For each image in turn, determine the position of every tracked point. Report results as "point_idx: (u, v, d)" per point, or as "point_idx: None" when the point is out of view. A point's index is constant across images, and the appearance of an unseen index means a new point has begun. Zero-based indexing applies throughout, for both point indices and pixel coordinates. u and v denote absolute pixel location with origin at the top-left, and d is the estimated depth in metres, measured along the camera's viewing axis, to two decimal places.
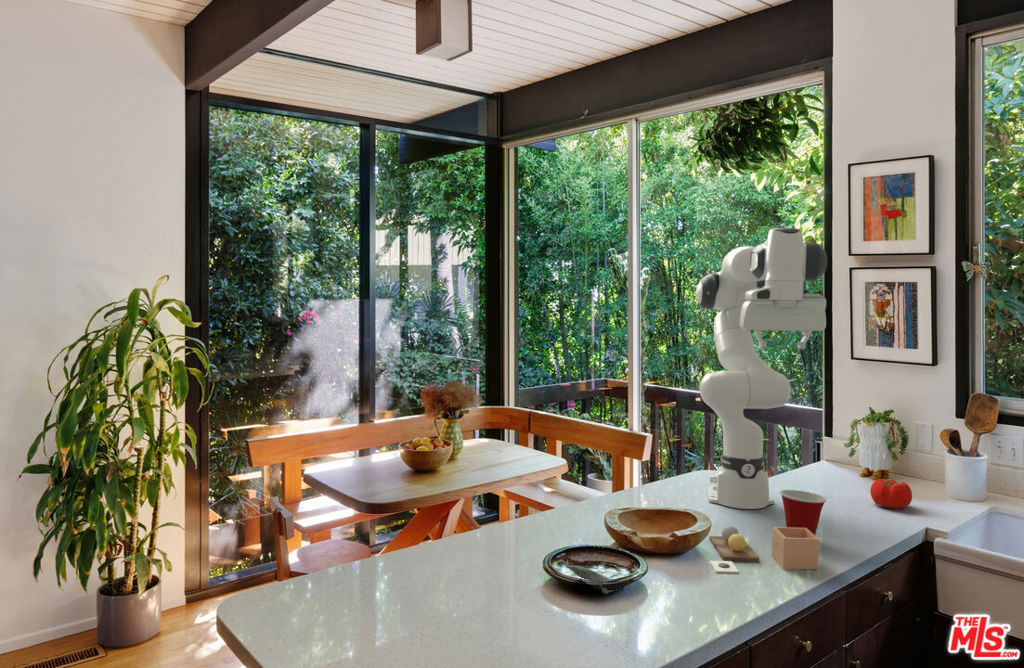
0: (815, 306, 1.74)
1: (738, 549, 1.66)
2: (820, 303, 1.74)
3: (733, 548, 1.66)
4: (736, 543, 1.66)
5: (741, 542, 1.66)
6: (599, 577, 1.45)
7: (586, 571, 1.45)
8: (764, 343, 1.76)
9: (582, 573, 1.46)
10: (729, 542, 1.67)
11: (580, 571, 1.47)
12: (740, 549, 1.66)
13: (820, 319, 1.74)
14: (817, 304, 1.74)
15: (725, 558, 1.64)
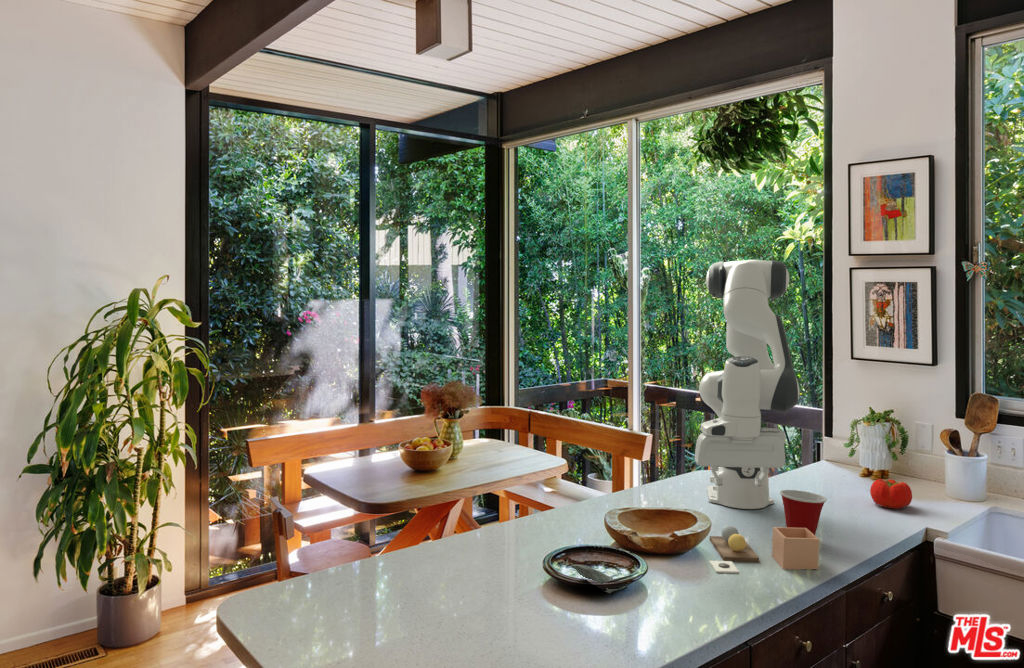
0: (774, 442, 1.64)
1: (738, 549, 1.66)
2: (779, 439, 1.64)
3: (733, 548, 1.66)
4: (736, 543, 1.66)
5: (741, 542, 1.66)
6: (602, 576, 1.45)
7: (589, 570, 1.46)
8: (720, 480, 1.66)
9: (585, 572, 1.47)
10: (729, 542, 1.67)
11: (583, 570, 1.47)
12: (740, 549, 1.66)
13: (778, 456, 1.64)
14: (776, 440, 1.64)
15: (725, 558, 1.64)
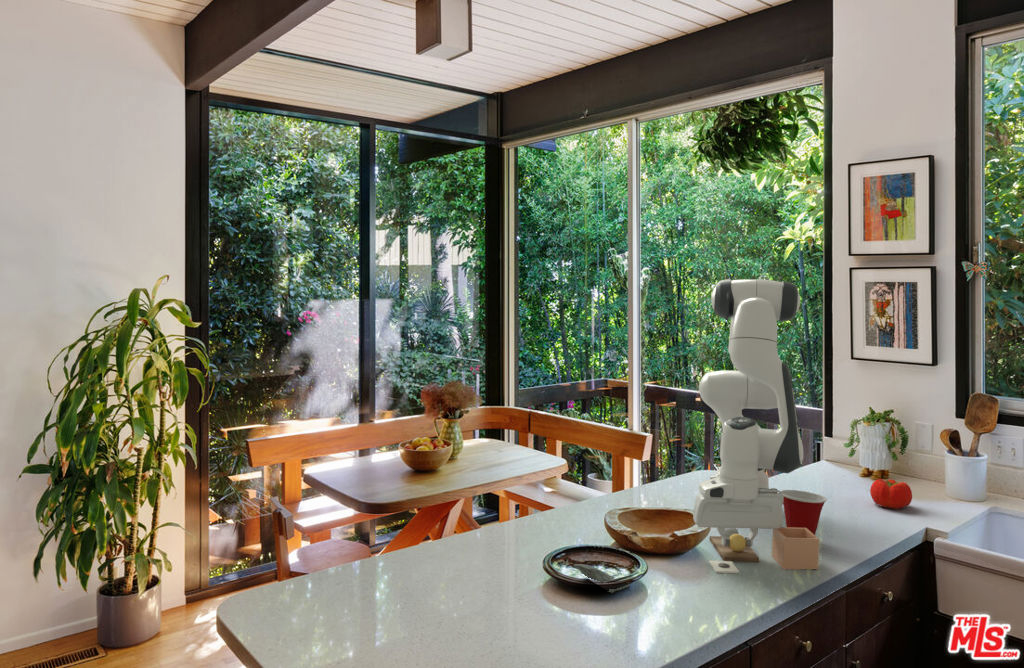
0: (772, 503, 1.65)
1: (738, 549, 1.66)
2: (777, 500, 1.65)
3: (733, 548, 1.66)
4: (736, 543, 1.66)
5: (741, 542, 1.66)
6: (604, 576, 1.46)
7: (592, 570, 1.46)
8: (727, 540, 1.67)
9: (588, 572, 1.47)
10: (729, 542, 1.67)
11: (586, 570, 1.48)
12: (740, 549, 1.66)
13: (776, 517, 1.65)
14: (774, 501, 1.65)
15: (725, 558, 1.64)
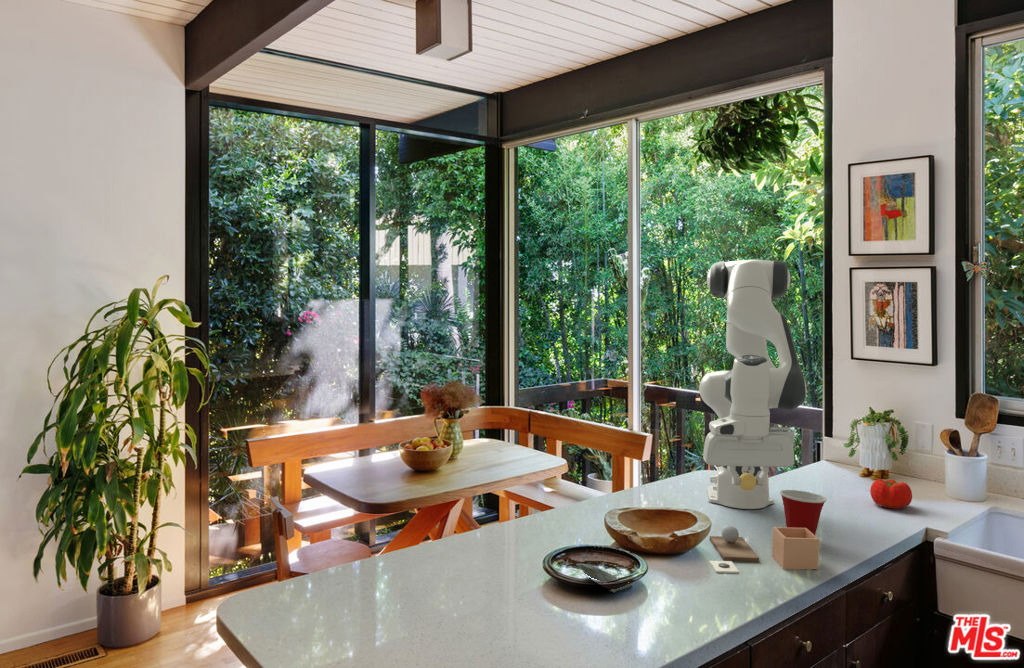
0: (783, 441, 1.63)
1: (748, 488, 1.64)
2: (788, 438, 1.63)
3: (743, 487, 1.65)
4: (746, 482, 1.64)
5: (751, 481, 1.64)
6: (607, 576, 1.46)
7: (594, 569, 1.46)
8: (737, 479, 1.65)
9: (590, 571, 1.47)
10: (739, 481, 1.65)
11: (588, 569, 1.48)
12: (750, 488, 1.64)
13: (787, 455, 1.63)
14: (785, 439, 1.63)
15: (725, 558, 1.64)
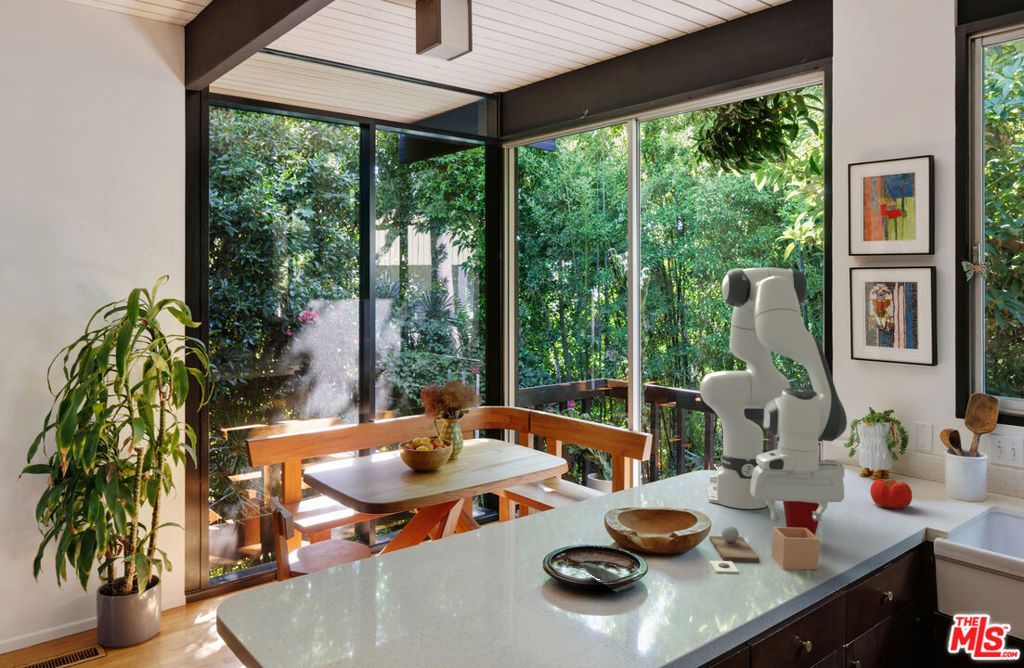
0: (833, 476, 1.60)
1: None
2: (838, 473, 1.60)
3: None
4: None
5: None
6: (609, 575, 1.46)
7: (596, 569, 1.47)
8: (777, 514, 1.62)
9: (593, 571, 1.48)
10: None
11: (591, 569, 1.48)
12: None
13: (837, 490, 1.60)
14: (835, 473, 1.60)
15: (725, 558, 1.64)
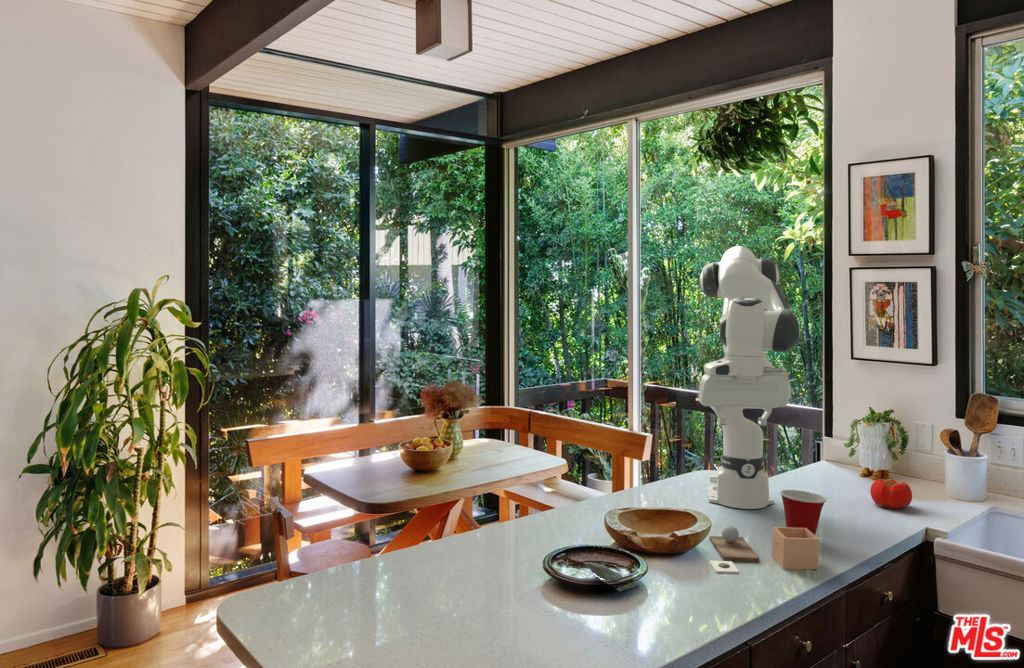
0: (777, 381, 1.65)
1: None
2: (782, 378, 1.65)
3: None
4: None
5: None
6: (613, 574, 1.47)
7: (600, 568, 1.47)
8: (723, 419, 1.67)
9: (596, 570, 1.48)
10: None
11: (595, 568, 1.49)
12: None
13: (781, 395, 1.65)
14: (779, 379, 1.65)
15: (725, 558, 1.64)
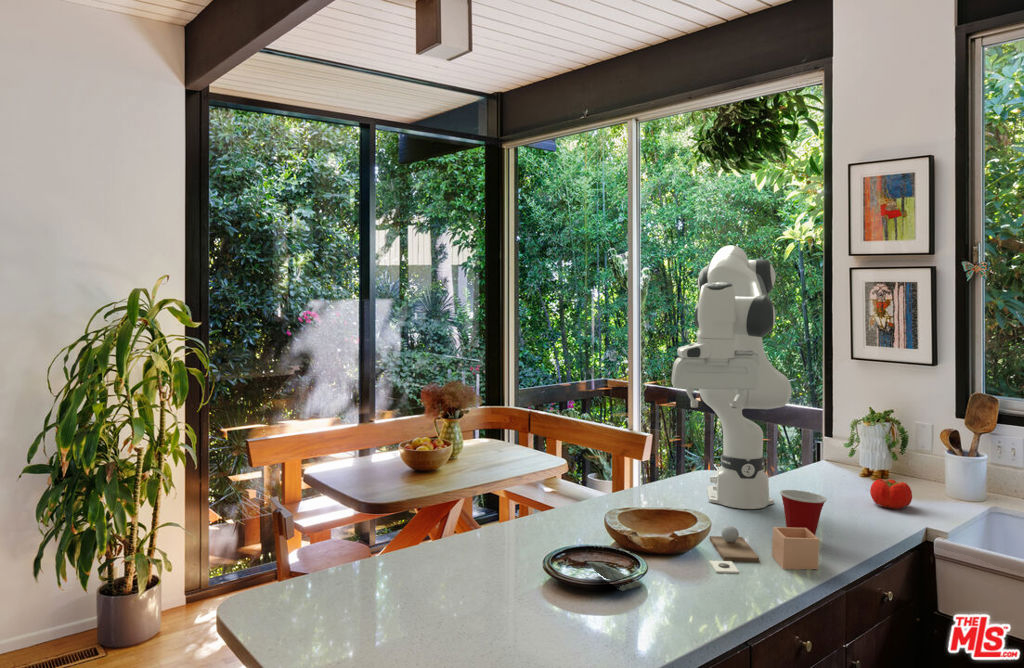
0: (748, 364, 1.68)
1: None
2: (753, 361, 1.68)
3: None
4: None
5: None
6: (616, 574, 1.47)
7: (603, 567, 1.47)
8: (696, 402, 1.70)
9: (599, 569, 1.49)
10: None
11: (597, 567, 1.49)
12: None
13: (752, 378, 1.68)
14: (750, 362, 1.68)
15: (725, 558, 1.64)
